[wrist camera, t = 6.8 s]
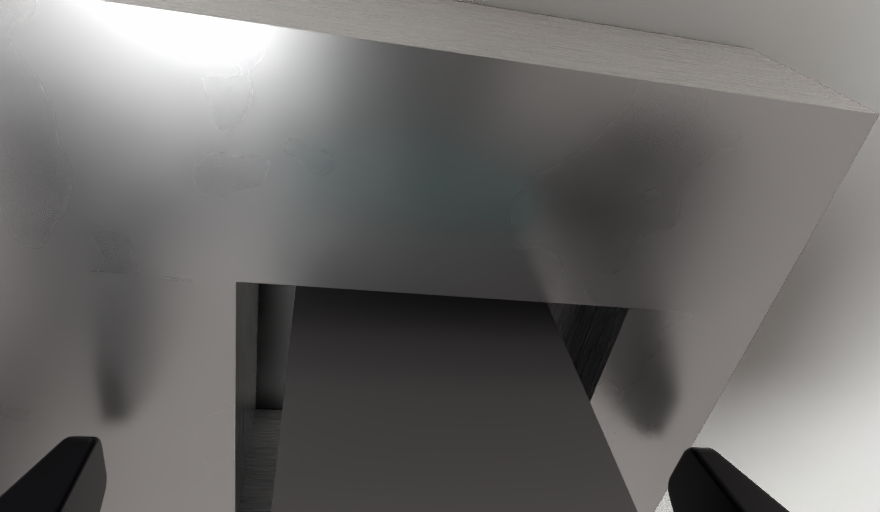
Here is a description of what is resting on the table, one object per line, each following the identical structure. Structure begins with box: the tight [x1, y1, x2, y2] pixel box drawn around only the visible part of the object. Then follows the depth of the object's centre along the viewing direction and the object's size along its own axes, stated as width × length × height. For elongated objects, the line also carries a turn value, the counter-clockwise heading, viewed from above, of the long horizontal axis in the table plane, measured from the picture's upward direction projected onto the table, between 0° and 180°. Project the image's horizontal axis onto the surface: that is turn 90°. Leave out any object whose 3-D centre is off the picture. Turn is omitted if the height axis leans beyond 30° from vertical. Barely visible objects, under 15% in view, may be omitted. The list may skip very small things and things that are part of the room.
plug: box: [271, 286, 638, 512], centre depth 9 cm, size 5×5×8 cm
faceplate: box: [0, 0, 879, 512], centre depth 11 cm, size 14×14×4 cm
